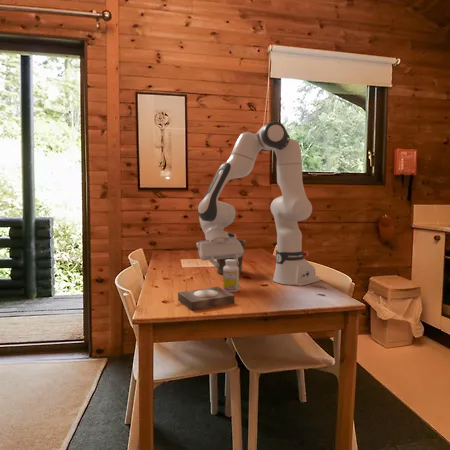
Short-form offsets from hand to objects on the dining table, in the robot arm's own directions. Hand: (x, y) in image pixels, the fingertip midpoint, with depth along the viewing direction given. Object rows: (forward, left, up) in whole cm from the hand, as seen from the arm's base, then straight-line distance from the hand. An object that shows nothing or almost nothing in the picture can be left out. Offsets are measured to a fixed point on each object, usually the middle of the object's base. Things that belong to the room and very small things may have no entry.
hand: (227, 265), depth 145 cm
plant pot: (-15, -25, -10) cm, 31 cm away
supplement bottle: (0, +3, -10) cm, 11 cm away
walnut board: (+15, +12, -10) cm, 22 cm away
